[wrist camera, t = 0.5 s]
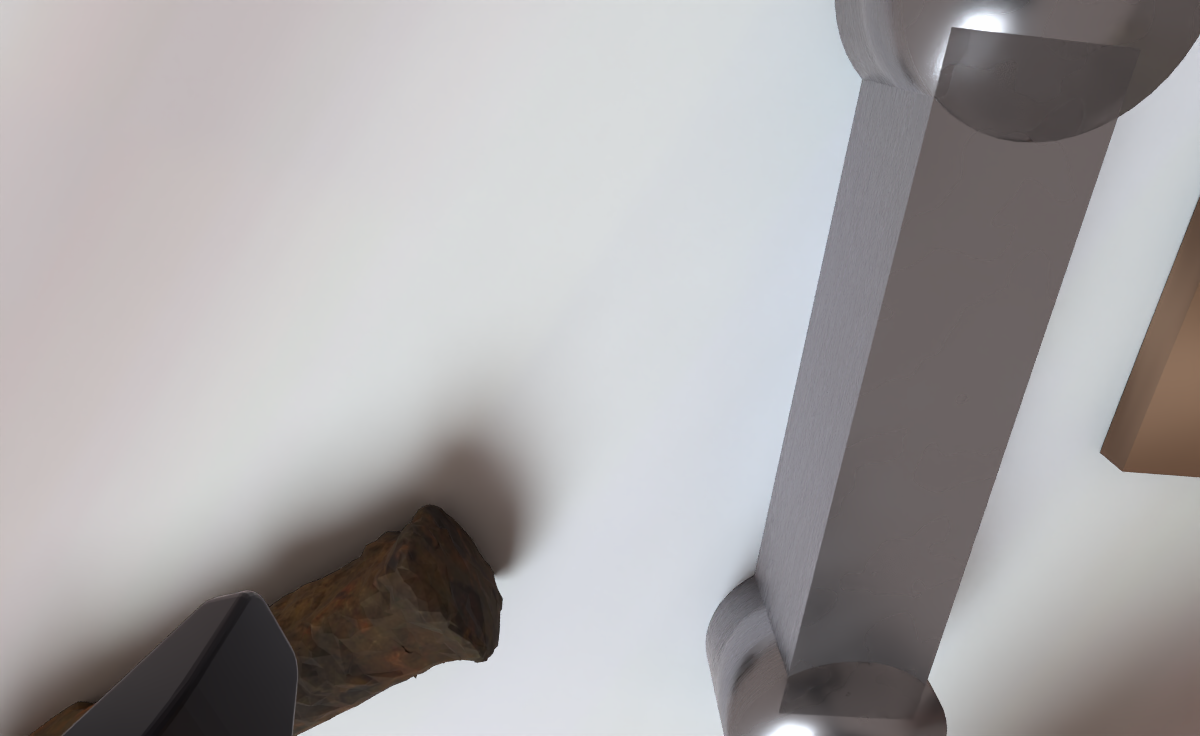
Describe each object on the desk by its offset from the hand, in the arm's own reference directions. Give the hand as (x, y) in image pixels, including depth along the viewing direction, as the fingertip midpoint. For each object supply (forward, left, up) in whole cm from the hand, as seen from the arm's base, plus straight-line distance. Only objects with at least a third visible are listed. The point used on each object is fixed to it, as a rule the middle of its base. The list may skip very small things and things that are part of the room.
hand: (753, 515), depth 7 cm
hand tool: (-16, +11, -14) cm, 23 cm away
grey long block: (-4, -6, -13) cm, 15 cm away
